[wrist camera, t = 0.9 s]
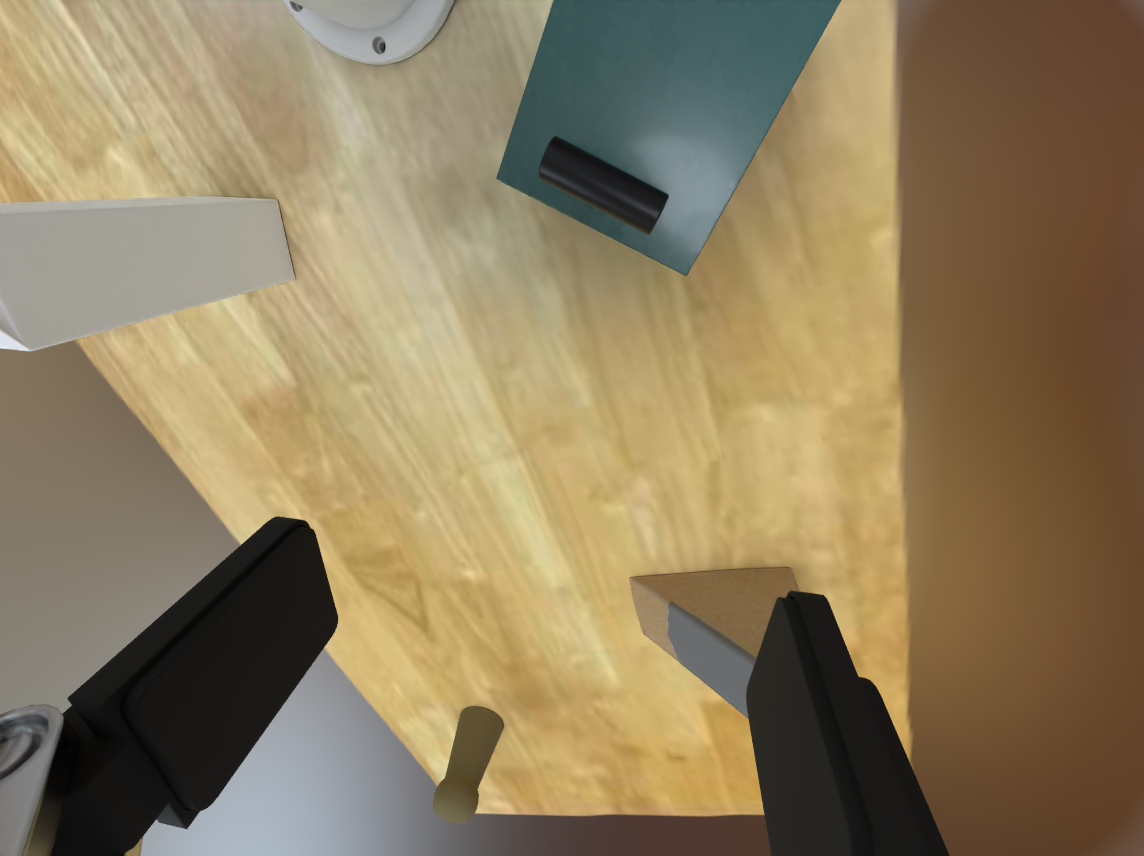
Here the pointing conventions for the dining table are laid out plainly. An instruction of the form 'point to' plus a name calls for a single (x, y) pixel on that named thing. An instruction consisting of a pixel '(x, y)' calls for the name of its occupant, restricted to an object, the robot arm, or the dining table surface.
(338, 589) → the dining table surface
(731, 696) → the sandwich container
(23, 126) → the dining table surface
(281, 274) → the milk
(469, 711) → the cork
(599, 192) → the lid
